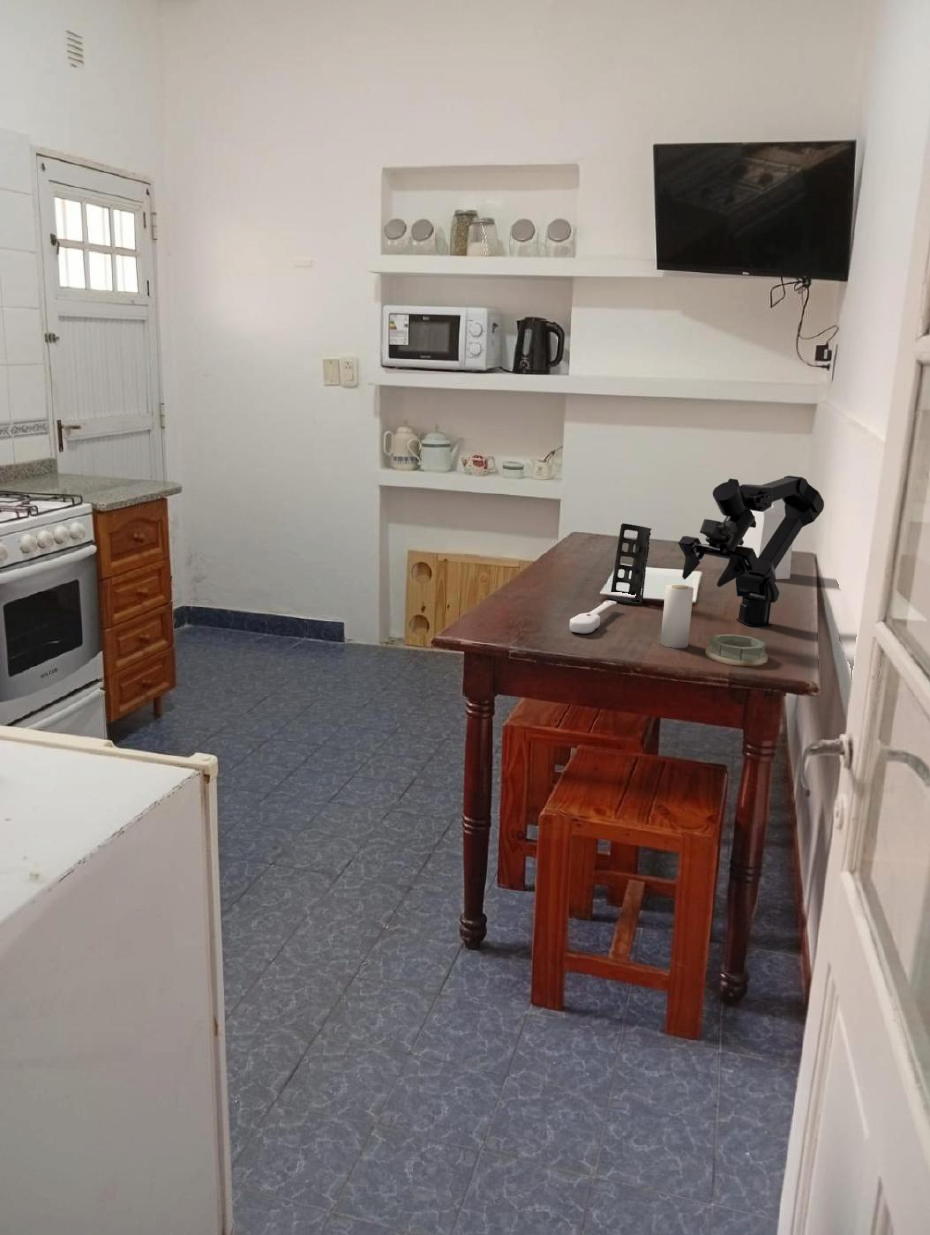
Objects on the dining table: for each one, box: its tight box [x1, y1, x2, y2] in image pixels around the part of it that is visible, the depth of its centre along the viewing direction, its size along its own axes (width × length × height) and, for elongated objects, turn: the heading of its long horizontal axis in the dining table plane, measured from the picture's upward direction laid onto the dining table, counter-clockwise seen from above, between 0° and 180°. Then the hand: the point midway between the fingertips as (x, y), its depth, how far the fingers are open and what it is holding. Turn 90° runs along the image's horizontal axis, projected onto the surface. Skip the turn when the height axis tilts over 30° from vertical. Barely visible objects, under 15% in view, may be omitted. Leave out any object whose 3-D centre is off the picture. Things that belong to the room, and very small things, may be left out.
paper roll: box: [659, 584, 694, 649], centre depth 219 cm, size 6×6×13 cm
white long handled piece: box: [569, 600, 618, 635], centre depth 237 cm, size 28×6×3 cm, turn 156°
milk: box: [738, 499, 793, 580], centre depth 299 cm, size 12×12×26 cm
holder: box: [609, 523, 652, 607], centre depth 258 cm, size 11×8×20 cm
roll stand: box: [704, 633, 769, 667], centre depth 213 cm, size 13×13×4 cm
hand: (700, 582), depth 223 cm, fingers open, 9 cm apart
